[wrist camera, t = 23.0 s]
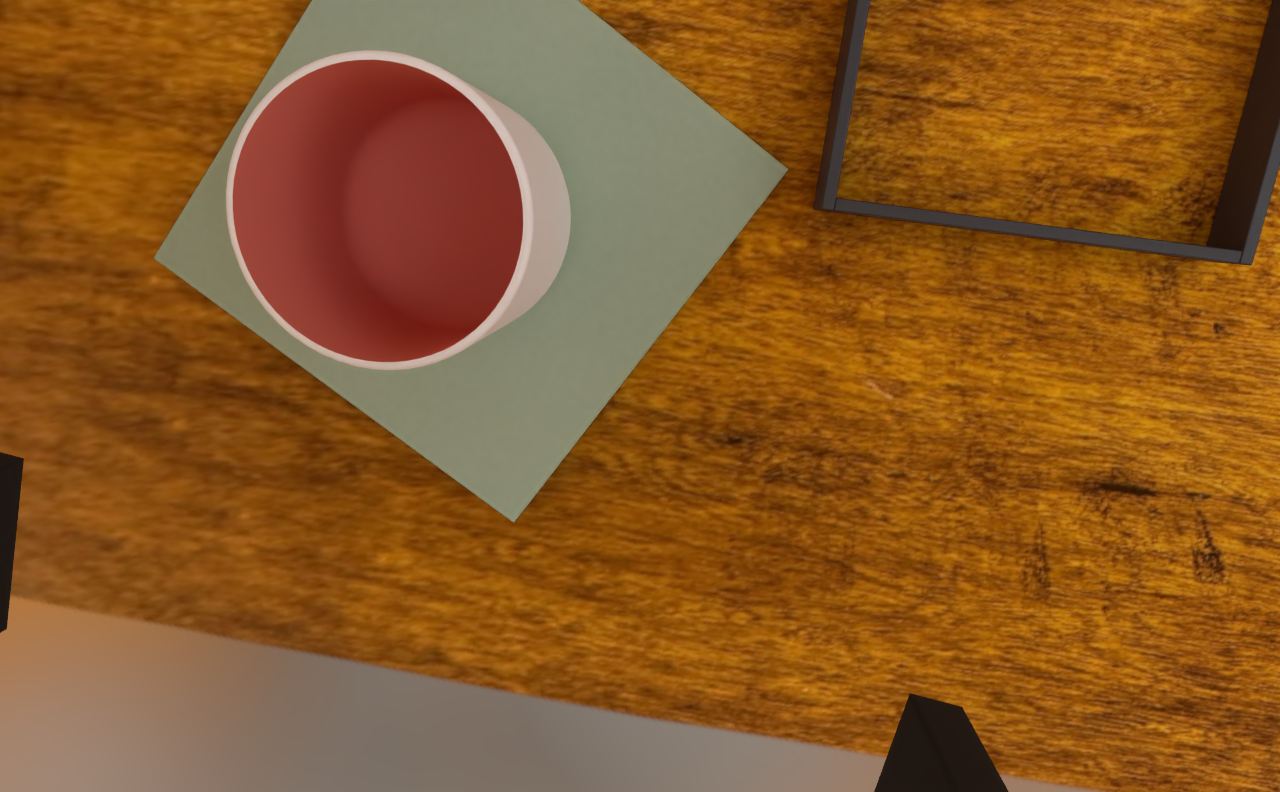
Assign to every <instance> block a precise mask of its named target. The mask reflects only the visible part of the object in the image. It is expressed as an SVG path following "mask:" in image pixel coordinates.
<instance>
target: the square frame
mask: <svg viewBox="0 0 1280 792" xmlns="http://www.w3.org/2000/svg"><path fill="white" fill-rule="evenodd" d="M869 5H870V0H848V5H847V11H846V17H845V23H844V29H843V35H842V41H841V47H840V53H839V58H838V64H837V70H836V76H835V82H834V88H833V94H832V100H831V106H830V112H829V118H828V124H827V130H826V136H825V141H824V147H823V153H822V159H821V165H820V171H819V177H818V183H817V189H816V195H815V201H814V207H813V209H814V210H822V211H830V212H837V213H845V214H852V215H860V216H868V217H875V218H883V219H890V220H898V221H906V222H913V223H921V224H929V225H936V226H944V227H951V228H959V229H967V230H974V231H982V232H989V233H997V234H1005V235H1012V236H1020V237H1027V238H1035V239H1043V240H1050V241H1058V242H1065V243H1073V244H1081V245H1088V246H1096V247H1104V248H1111V249H1119V250H1126V251H1134V252H1142V253H1149V254H1157V255H1164V256H1172V257H1180V258H1187V259H1195V260H1203V261H1210V262H1219V263H1231V264H1242V265H1252V262H1253V259H1254V255H1255V252H1256V248H1257V245H1258V241H1259V237H1260V234H1261V230H1262V227H1263V223H1264V220H1265V216H1266V212H1267V209H1268V205H1269V202H1270V198H1271V195H1272V191H1273V187H1274V184H1275V180H1276V177H1277V173H1278V170H1279V166H1280V0H1273V2H1272V5H1271V9H1270V13H1269V16H1268V20H1267V24H1266V28H1265V31H1264V35H1263V39H1262V43H1261V46H1260V50H1259V54H1258V58H1257V61H1256V65H1255V69H1254V72H1253V76H1252V80H1251V84H1250V87H1249V91H1248V95H1247V99H1246V102H1245V106H1244V110H1243V114H1242V117H1241V121H1240V125H1239V128H1238V132H1237V136H1236V140H1235V143H1234V147H1233V151H1232V155H1231V158H1230V162H1229V166H1228V170H1227V173H1226V177H1225V181H1224V184H1223V188H1222V192H1221V196H1220V199H1219V203H1218V207H1217V211H1216V214H1215V218H1214V222H1213V226H1212V229H1211V233H1210V237H1209V240H1208V244H1207V246H1200V245H1193V244H1185V243H1177V242H1170V241H1162V240H1154V239H1147V238H1139V237H1132V236H1124V235H1116V234H1109V233H1101V232H1093V231H1086V230H1078V229H1070V228H1063V227H1055V226H1048V225H1040V224H1032V223H1025V222H1017V221H1009V220H1002V219H994V218H986V217H979V216H971V215H963V214H956V213H948V212H941V211H933V210H925V209H918V208H910V207H902V206H895V205H887V204H879V203H872V202H864V201H857V200H849V199H841V198H836V195H837V189H838V183H839V177H840V172H841V166H842V160H843V154H844V149H845V143H846V137H847V131H848V126H849V120H850V114H851V108H852V103H853V97H854V91H855V85H856V80H857V74H858V68H859V62H860V57H861V51H862V45H863V39H864V34H865V28H866V22H867V16H868V11H869Z"/></svg>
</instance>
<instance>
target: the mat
mask: <svg viewBox="0 0 1280 792" xmlns="http://www.w3.org/2000/svg"><path fill="white" fill-rule="evenodd" d="M362 50H379V51H390V52H396V53H401V54H406V55H409V56H413V57H416V58H419V59H422V60H425V61H427V62H429V63H432V64H434V65H436V66H439V67H441V68H442V69H444V70H446V71H448V72H449V73H451V74H453V75H455V76H456V77H458V78H460V79H462V80H463V81H465V82H467V83H468V84H470V85H472V86H474V87H475V88H477V89H479V90H480V91H482V92H484V93H485V94H487V95H489V96H491V97H492V98H494V99H496V100H497V101H499V102H501V103H502V104H504V105H506V106H507V107H509V108H511V109H512V110H514V111H515V112H516V113H518V114H519V115H521V116H522V117H523V118H524V119H525V120H527V121H528V122H529V123H530V124H531V125H532V126H533V127H534V128H535V129H536V130H537V131H538V133H539V134H540V135H541V136H542V137H543V139H544V140H545V141H546V143H547V144H548V146H549V147H550V149H551V150H552V152H553V154H554V156H555V157H556V159H557V161H558V163H559V165H560V168H561V170H562V173H563V175H564V179H565V183H566V186H567V190H568V194H569V200H570V210H571V227H570V236H569V242H568V247H567V250H566V254H565V257H564V260H563V263H562V265H561V268H560V270H559V272H558V274H557V276H556V278H555V279H554V281H553V283H552V284H551V286H550V287H549V289H548V290H547V291H546V293H545V294H544V295H543V296H542V297H541V298H540V300H539V301H538V302H537V303H536V304H535V305H534V306H533V307H531V308H530V309H529V310H528V311H527V312H525V313H524V314H523V315H521V316H520V317H518V318H517V319H515V320H514V321H512V322H510V323H509V324H507V325H505V326H503V327H502V328H500V329H498V330H497V331H495V332H493V333H492V334H490V335H488V336H486V337H485V338H483V339H481V340H480V341H478V342H476V343H475V344H473V345H471V346H469V347H468V348H466V349H464V350H463V351H461V352H459V353H457V354H455V355H453V356H451V357H449V358H447V359H444V360H442V361H439V362H437V363H433V364H430V365H426V366H423V367H418V368H412V369H405V370H375V369H367V368H362V367H356V366H353V365H349V364H346V363H342V362H339V361H336V360H334V359H332V358H329V357H327V356H324V355H322V354H320V353H318V352H317V351H315V350H313V349H311V348H309V347H308V346H306V345H305V344H303V343H302V342H300V341H299V340H297V339H296V338H295V337H293V336H292V335H291V334H290V333H288V332H287V331H286V330H285V329H284V328H283V327H282V326H280V325H279V324H278V323H277V322H276V321H275V320H274V318H273V317H272V316H271V315H270V314H269V313H268V312H267V311H266V310H265V308H264V307H263V306H262V304H261V303H260V302H259V300H258V299H257V298H256V296H255V295H254V293H253V291H252V290H251V288H250V286H249V285H248V283H247V281H246V279H245V277H244V275H243V273H242V271H241V269H240V267H239V264H238V261H237V258H236V255H235V252H234V249H233V247H232V244H231V239H230V235H229V230H228V223H227V215H226V186H227V176H228V171H229V165H230V161H231V158H232V154H233V150H234V148H235V145H236V142H237V140H238V137H239V135H240V133H241V131H242V129H243V127H244V125H245V123H246V121H247V120H248V118H249V117H250V115H251V113H252V112H253V110H254V109H255V108H256V106H257V105H258V104H259V102H260V101H261V100H262V99H263V98H264V97H265V96H266V95H267V93H268V92H269V91H270V90H272V89H273V88H274V87H275V86H276V85H277V84H278V83H279V82H281V81H282V80H283V79H285V78H286V77H287V76H288V75H290V74H292V73H293V72H295V71H297V70H298V69H300V68H301V67H303V66H305V65H308V64H310V63H312V62H314V61H316V60H319V59H322V58H325V57H328V56H331V55H335V54H340V53H345V52H350V51H362ZM787 171H788V168H787V167H785V166H784V165H783V164H782V163H780V162H779V161H778V160H777V159H775V158H774V157H773V156H772V155H770V154H769V153H768V152H767V151H765V150H764V149H763V148H762V147H760V146H759V145H758V144H757V143H755V142H754V141H753V140H752V139H750V138H749V137H748V136H747V135H745V134H744V133H743V132H742V131H740V130H739V129H738V128H737V127H735V126H734V125H733V124H732V123H730V122H729V121H728V120H727V119H726V118H724V117H723V116H722V115H721V114H719V113H718V112H717V111H716V110H714V109H713V108H712V107H711V106H709V105H708V104H707V103H706V102H704V101H703V100H702V99H701V98H699V97H698V96H697V95H696V94H694V93H693V92H692V91H691V90H689V89H688V88H687V87H686V86H684V85H683V84H682V83H681V82H679V81H678V80H677V79H676V78H674V77H673V76H672V75H671V74H669V73H668V72H667V71H666V70H664V69H663V68H662V67H661V66H659V65H658V64H657V63H656V62H654V61H653V60H652V59H651V58H649V57H648V56H647V55H646V54H644V53H643V52H642V51H641V50H639V49H638V48H637V47H636V46H634V45H633V44H632V43H631V42H629V41H628V40H627V39H626V38H624V37H623V36H622V35H621V34H619V33H618V32H617V31H616V30H614V29H613V28H612V27H611V26H609V25H608V24H607V23H606V22H604V21H603V20H602V19H601V18H599V17H598V16H597V15H596V14H595V13H593V12H592V11H591V10H590V9H588V8H587V7H586V6H585V5H583V4H582V3H581V2H580V1H578V0H311V2H310V4H309V5H308V7H307V9H306V10H305V12H304V14H303V15H302V17H301V18H300V20H299V22H298V23H297V25H296V27H295V28H294V30H293V31H292V33H291V35H290V36H289V38H288V40H287V41H286V43H285V45H284V46H283V48H282V49H281V51H280V53H279V54H278V56H277V58H276V59H275V61H274V62H273V64H272V66H271V67H270V69H269V71H268V72H267V74H266V75H265V77H264V79H263V80H262V82H261V84H260V85H259V87H258V89H257V90H256V92H255V93H254V95H253V97H252V98H251V100H250V102H249V103H248V105H247V106H246V108H245V110H244V111H243V113H242V115H241V116H240V118H239V120H238V121H237V123H236V124H235V126H234V128H233V129H232V131H231V133H230V134H229V136H228V137H227V139H226V141H225V142H224V144H223V146H222V147H221V149H220V150H219V152H218V154H217V155H216V157H215V159H214V160H213V162H212V164H211V165H210V167H209V168H208V170H207V172H206V173H205V175H204V177H203V178H202V180H201V181H200V183H199V185H198V186H197V188H196V190H195V191H194V193H193V195H192V196H191V198H190V199H189V201H188V203H187V204H186V206H185V208H184V209H183V211H182V212H181V214H180V216H179V217H178V219H177V221H176V222H175V224H174V226H173V227H172V229H171V230H170V232H169V234H168V235H167V237H166V239H165V240H164V242H163V243H162V245H161V247H160V248H159V250H158V252H157V253H156V255H155V256H154V259H155V260H157V261H158V262H160V263H161V264H162V265H164V266H165V267H166V268H168V269H169V270H170V271H172V272H173V273H175V274H176V275H177V276H179V277H180V278H181V279H183V280H184V281H185V282H187V283H188V284H189V285H191V286H192V287H194V288H195V289H196V290H198V291H199V292H200V293H202V294H203V295H204V296H206V297H207V298H209V299H210V300H211V301H213V302H214V303H215V304H217V305H218V306H219V307H221V308H222V309H223V310H225V311H226V312H228V313H229V314H230V315H232V316H233V317H234V318H236V319H237V320H238V321H240V322H241V323H243V324H244V325H245V326H247V327H248V328H249V329H251V330H252V331H253V332H255V333H256V334H257V335H259V336H260V337H262V338H263V339H264V340H266V341H267V342H268V343H270V344H271V345H272V346H274V347H275V348H277V349H278V350H279V351H281V352H282V353H283V354H285V355H286V356H287V357H289V358H290V359H291V360H293V361H294V362H296V363H297V364H298V365H300V366H301V367H302V368H304V369H305V370H306V371H308V372H309V373H311V374H312V375H313V376H315V377H316V378H317V379H319V380H320V381H321V382H323V383H324V384H325V385H327V386H328V387H330V388H331V389H332V390H334V391H335V392H336V393H338V394H339V395H340V396H342V397H343V398H345V399H346V400H347V401H349V402H350V403H351V404H353V405H354V406H355V407H357V408H358V409H360V410H361V411H362V412H364V413H365V414H366V415H368V416H369V417H370V418H372V419H373V420H374V421H376V422H377V423H379V424H380V425H381V426H383V427H384V428H385V429H387V430H388V431H389V432H391V433H392V434H394V435H395V436H396V437H398V438H399V439H400V440H402V441H403V442H404V443H406V444H407V445H408V446H410V447H411V448H413V449H414V450H415V451H417V452H418V453H419V454H421V455H422V456H423V457H425V458H426V459H428V460H429V461H430V462H432V463H433V464H434V465H436V466H437V467H438V468H440V469H441V470H442V471H444V472H445V473H447V474H448V475H449V476H451V477H452V478H453V479H455V480H456V481H457V482H459V483H460V484H462V485H463V486H464V487H466V488H467V489H468V490H470V491H471V492H472V493H474V494H475V495H476V496H478V497H479V498H481V499H482V500H483V501H485V502H486V503H487V504H489V505H490V506H491V507H493V508H494V509H496V510H497V511H498V512H500V513H501V514H502V515H504V516H505V517H506V518H508V519H509V520H510V521H512V522H515V521H516V519H517V518H518V517H519V515H520V514H521V513H522V512H523V510H524V509H525V508H526V506H527V505H528V504H529V503H530V501H531V500H532V499H533V497H534V496H535V495H536V494H537V492H538V491H539V490H540V488H541V487H542V486H543V485H544V483H545V482H546V481H547V480H548V478H549V477H550V476H551V474H552V473H553V472H554V471H555V469H556V468H557V467H558V465H559V464H560V463H561V462H562V460H563V459H564V458H565V456H566V455H567V454H568V453H569V451H570V450H571V449H572V447H573V446H574V445H575V444H576V442H577V441H578V440H579V438H580V437H581V436H582V435H583V433H584V432H585V431H586V429H587V428H588V427H589V426H590V424H591V423H592V422H593V420H594V419H595V418H596V417H597V415H598V414H599V413H600V411H601V410H602V409H603V408H604V406H605V405H606V404H607V402H608V401H609V400H610V399H611V397H612V396H613V395H614V393H615V392H616V391H617V390H618V388H619V387H620V386H621V384H622V383H623V382H624V381H625V379H626V378H627V377H628V375H629V374H630V373H631V372H632V370H633V369H634V368H635V366H636V365H637V364H638V363H639V361H640V360H641V359H642V357H643V356H644V355H645V354H646V352H647V351H648V350H649V348H650V347H651V346H652V345H653V343H654V342H655V341H656V340H657V338H658V337H659V336H660V334H661V333H662V332H663V331H664V329H665V328H666V327H667V325H668V324H669V323H670V322H671V320H672V319H673V318H674V316H675V315H676V314H677V313H678V311H679V310H680V309H681V307H682V306H683V305H684V304H685V302H686V301H687V300H688V298H689V297H690V296H691V295H692V293H693V292H694V291H695V289H696V288H697V287H698V286H699V284H700V283H701V282H702V280H703V279H704V278H705V277H706V275H707V274H708V273H709V271H710V270H711V269H712V268H713V266H714V265H715V264H716V262H717V261H718V260H719V259H720V257H721V256H722V255H723V253H724V252H725V251H726V250H727V248H728V247H729V246H730V244H731V243H732V242H733V241H734V239H735V238H736V237H737V235H738V234H739V233H740V232H741V230H742V229H743V228H744V226H745V225H746V224H747V223H748V221H749V220H750V219H751V217H752V216H753V215H754V214H755V212H756V211H757V210H758V208H759V207H760V206H761V205H762V203H763V202H764V201H765V200H766V198H767V197H768V196H769V194H770V193H771V192H772V191H773V189H774V188H775V187H776V185H777V184H778V183H779V182H780V180H781V179H782V178H783V176H784V175H785V174H786V173H787Z"/></svg>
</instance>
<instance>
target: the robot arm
mask: <svg viewBox="0 0 1280 792" xmlns="http://www.w3.org/2000/svg"><path fill="white" fill-rule="evenodd" d="M23 460H24V459H23V458H20V457H16V456H12V455H8V454H5V453H1V452H0V633H1V632H2V631H4V630H6V628H7V620H8V609H9V600H10V590H11V580H12V570H13V560H14V550H15V540H16V530H17V520H18V510H19V500H20V490H21V480H22V470H23ZM874 792H1008V790H1007V788H1006V786H1005V784H1004V783H1003V781H1002V779H1001V777H1000V775H999V773H998V772H997V770H996V768H995V766H994V764H993V763H992V761H991V759H990V757H989V755H988V753H987V752H986V750H985V748H984V746H983V744H982V743H981V741H980V739H979V737H978V735H977V733H976V732H975V730H974V728H973V726H972V724H971V722H970V721H969V719H968V717H967V715H966V713H965V712H964V710H963V708H962V707H960V706H956V705H952V704H948V703H945V702H941V701H937V700H933V699H930V698H926V697H922V696H918V695H914V694H911V693H910V695H909V698H908V700H907V703H906V706H905V709H904V711H903V714H902V717H901V720H900V722H899V725H898V728H897V731H896V733H895V736H894V739H893V742H892V744H891V747H890V750H889V753H888V755H887V758H886V761H885V764H884V767H883V769H882V772H881V775H880V777H879V780H878V783H877V786H876V788H875V791H874Z"/></svg>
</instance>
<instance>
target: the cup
mask: <svg viewBox="0 0 1280 792" xmlns="http://www.w3.org/2000/svg"><path fill="white" fill-rule="evenodd" d="M226 215H227V223H228V230H229V235H230V239H231V244H232V247H233V249H234V252H235V255H236V258H237V261H238V264H239V267H240V269H241V271H242V273H243V275H244V277H245V279H246V281H247V283H248V285H249V286H250V288H251V290H252V291H253V293H254V295H255V296H256V298H257V299H258V300H259V302H260V303H261V304H262V306H263V307H264V308H265V310H266V311H267V312H268V313H269V314H270V315H271V316H272V317H273V318H274V320H275V321H276V322H277V323H278V324H279V325H280V326H282V327H283V328H284V329H285V330H286V331H287V332H288V333H290V334H291V335H292V336H293V337H295V338H296V339H297V340H299V341H300V342H302V343H303V344H305V345H306V346H308V347H309V348H311V349H313V350H315V351H317V352H318V353H320V354H322V355H324V356H327V357H329V358H332V359H334V360H336V361H339V362H342V363H346V364H349V365H353V366H356V367H362V368H367V369H375V370H405V369H412V368H418V367H423V366H426V365H430V364H433V363H437V362H439V361H442V360H444V359H447V358H449V357H451V356H453V355H455V354H457V353H459V352H461V351H463V350H464V349H466V348H468V347H469V346H471V345H473V344H475V343H476V342H478V341H480V340H481V339H483V338H485V337H486V336H488V335H490V334H492V333H493V332H495V331H497V330H498V329H500V328H502V327H503V326H505V325H507V324H509V323H510V322H512V321H514V320H515V319H517V318H518V317H520V316H521V315H523V314H524V313H525V312H527V311H528V310H529V309H530V308H531V307H533V306H534V305H535V304H536V303H537V302H538V301H539V300H540V298H541V297H542V296H543V295H544V294H545V293H546V291H547V290H548V289H549V287H550V286H551V284H552V283H553V281H554V279H555V278H556V276H557V274H558V272H559V270H560V268H561V265H562V263H563V260H564V257H565V254H566V250H567V247H568V242H569V236H570V227H571V210H570V200H569V194H568V190H567V186H566V183H565V179H564V175H563V173H562V170H561V168H560V165H559V163H558V161H557V159H556V157H555V156H554V154H553V152H552V150H551V149H550V147H549V146H548V144H547V143H546V141H545V140H544V139H543V137H542V136H541V135H540V134H539V133H538V131H537V130H536V129H535V128H534V127H533V126H532V125H531V124H530V123H529V122H528V121H527V120H525V119H524V118H523V117H522V116H521V115H519V114H518V113H516V112H515V111H514V110H512V109H511V108H509V107H507V106H506V105H504V104H502V103H501V102H499V101H497V100H496V99H494V98H492V97H491V96H489V95H487V94H485V93H484V92H482V91H480V90H479V89H477V88H475V87H474V86H472V85H470V84H468V83H467V82H465V81H463V80H462V79H460V78H458V77H456V76H455V75H453V74H451V73H449V72H448V71H446V70H444V69H442V68H441V67H439V66H436V65H434V64H432V63H429V62H427V61H425V60H422V59H419V58H416V57H413V56H409V55H406V54H401V53H396V52H390V51H379V50H362V51H350V52H345V53H340V54H335V55H331V56H328V57H325V58H322V59H319V60H316V61H314V62H312V63H310V64H308V65H305V66H303V67H301V68H300V69H298V70H297V71H295V72H293V73H292V74H290V75H288V76H287V77H286V78H285V79H283V80H282V81H281V82H279V83H278V84H277V85H276V86H275V87H274V88H273V89H272V90H270V91H269V92H268V93H267V95H266V96H265V97H264V98H263V99H262V100H261V101H260V102H259V104H258V105H257V106H256V108H255V109H254V110H253V112H252V113H251V115H250V117H249V118H248V120H247V121H246V123H245V125H244V127H243V129H242V131H241V133H240V135H239V137H238V140H237V142H236V145H235V148H234V150H233V154H232V158H231V161H230V165H229V171H228V176H227V186H226Z"/></svg>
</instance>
